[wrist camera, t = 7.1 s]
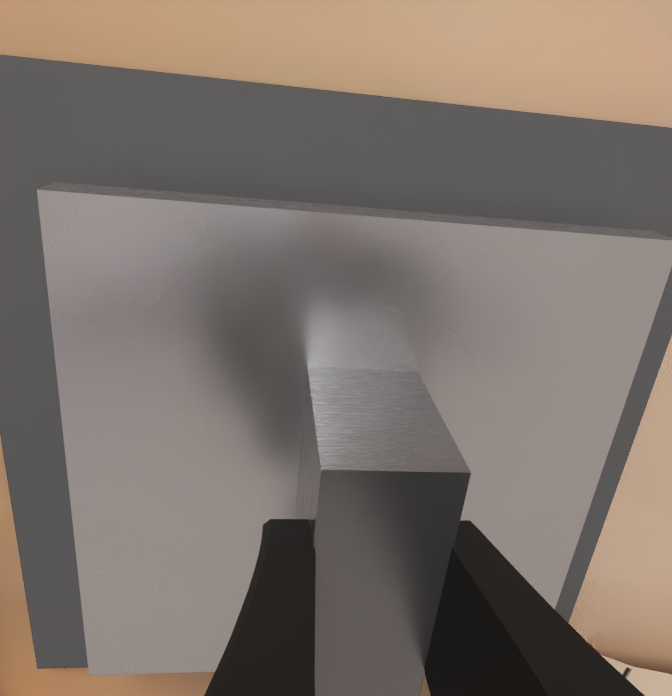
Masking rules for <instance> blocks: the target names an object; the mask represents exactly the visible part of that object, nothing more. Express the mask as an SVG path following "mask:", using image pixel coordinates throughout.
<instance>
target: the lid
mask: <svg viewBox="0 0 672 696" xmlns="http://www.w3.org/2000/svg"><path fill="white" fill-rule="evenodd" d="M37 196H38V205H39V215H40V224H41V233H42V243H43V252H44V261H45V271H46V280H47V289H48V298H49V308H50V317H51V326H52V336H53V345H54V354H55V364H56V373H57V382H58V392H59V401H60V410H61V420H62V429H63V438H64V448H65V457H66V466H67V476H68V485H69V494H70V503H71V513H72V522H73V531H74V541H75V550H76V559H77V569H78V578H79V587H80V597H81V606H82V615H83V625H84V634H85V643H86V653H87V662H88V671H89V675H120V674H156V673H191V672H215V671H216V669H217V667H218V664H219V662H220V660H221V658H222V655H223V653H224V651H225V649H226V647H227V644H228V642H229V639H230V637H231V634H232V632H233V629H234V627H235V624H236V621H237V619H238V616H239V613H240V611H241V608H242V605H243V603H244V600H245V597H246V594H247V592H248V589H249V586H250V582H251V579H252V576H253V573H254V569H255V566H256V562H257V558H258V554H259V550H260V544H261V539H262V528H263V524H264V523H266V522H267V521H268V520H270V519H308V522H309V527H310V532H311V538H312V544H313V548H315V553H316V581H315V696H420V691H421V687H422V683H423V678H424V674H425V670H424V667H425V663H426V659H427V654H428V650H429V646H430V641H431V637H432V633H433V628H434V624H435V620H436V615H437V611H438V607H439V602H440V598H441V594H442V589H443V585H444V581H445V576H446V572H447V567H448V563H449V559H450V554H451V550H452V548H454V545H455V540H456V536H457V532H458V527H459V523H460V520H470V521H471V522H472V523H473V524H474V525H475V526H476V527H477V528H478V529H479V530H480V531H481V532H482V533H483V534H484V535H485V536H486V538H487V539H488V540H489V541H490V542H491V543H492V544H493V545H494V546H495V547H496V548H497V549H498V550H499V551H500V553H501V554H502V555H503V556H504V557H505V558H506V559H507V560H508V561H509V562H510V563H511V564H512V565H513V566H514V568H515V569H516V570H517V571H518V572H519V573H520V574H521V575H522V576H523V577H524V578H525V579H526V580H527V581H528V582H529V583H530V585H531V586H532V587H533V588H534V589H535V590H536V591H537V592H538V593H539V594H540V595H541V596H542V597H543V598H544V599H545V600H546V601H547V602H548V603H549V604H550V605H551V606H552V607H553V608H554V609H555V607H556V605H557V602H558V599H559V596H560V593H561V590H562V587H563V584H564V581H565V578H566V575H567V572H568V569H569V566H570V563H571V561H572V558H573V555H574V552H575V549H576V546H577V543H578V540H579V537H580V534H581V531H582V528H583V525H584V522H585V520H586V517H587V514H588V511H589V508H590V505H591V502H592V499H593V496H594V493H595V490H596V487H597V484H598V481H599V478H600V476H601V473H602V470H603V467H604V464H605V461H606V458H607V455H608V452H609V449H610V446H611V443H612V440H613V437H614V434H615V432H616V429H617V426H618V423H619V420H620V417H621V414H622V411H623V408H624V405H625V402H626V399H627V396H628V393H629V391H630V388H631V385H632V382H633V379H634V376H635V373H636V370H637V367H638V364H639V361H640V358H641V355H642V352H643V349H644V347H645V344H646V341H647V338H648V335H649V332H650V329H651V326H652V323H653V320H654V317H655V314H656V311H657V308H658V306H659V303H660V300H661V297H662V294H663V291H664V288H665V285H666V282H667V279H668V276H669V273H670V270H671V267H672V238H670V237H667V236H665V235H662V234H659V233H656V232H654V231H647V230H635V229H622V228H610V227H598V226H586V225H574V224H562V223H549V222H537V221H525V220H513V219H501V218H488V217H476V216H464V215H452V214H440V213H427V212H415V211H403V210H391V209H379V208H367V207H354V206H342V205H330V204H318V203H306V202H293V201H281V200H269V199H257V198H245V197H233V196H220V195H208V194H196V193H184V192H172V191H159V190H147V189H135V188H123V187H111V186H98V185H86V184H74V183H62V182H54V183H52V184H49V185H47V186H45V187H42V188H40V189H37Z"/></svg>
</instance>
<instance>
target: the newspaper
mask: <svg viewBox="0 0 672 696" xmlns="http://www.w3.org/2000/svg"><path fill="white" fill-rule="evenodd" d="M585 640H586V641H587V639H586V638H585ZM587 642H588V641H587ZM588 643H589V642H588ZM591 646H592V645H591ZM592 647H593V646H592ZM601 656H602V657H604V658H605V659H606V660H607V661H608V662H609V663H610V664H611V665H612V666H613V667H614V668H615V669H617V670H618V671H619V672H620V673H621V674H622V675H623V676H624V677H625V678H626V679H627V680H628V681H630V682H631V683H632V684H633V685H634V686H635V687H636V688H637V689H638V690H639V691H640V692H641V693H643V694H644V695H645V696H672V674H668V673H663V672H658V671H653V670H648V669H643V668H638V667H633V666H630V665H628V664H625V663H622V662H619V661H617V660H614V659H611V658H608V657H606V656H603V655H601Z"/></svg>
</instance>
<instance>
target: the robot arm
mask: <svg viewBox="0 0 672 696" xmlns="http://www.w3.org/2000/svg"><path fill="white" fill-rule="evenodd" d="M315 581H316V553H315V548H313V544H312V538H311V532H310V527H309V522H308V519H270V520H268V521H267V522H266V523H264V524H263V528H262V539H261V544H260V550H259V554H258V558H257V562H256V566H255V569H254V573H253V576H252V579H251V582H250V586H249V589H248V592H247V594H246V597H245V600H244V603H243V605H242V608H241V611H240V613H239V616H238V619H237V621H236V624H235V627H234V629H233V632H232V634H231V637H230V639H229V642H228V644H227V647H226V649H225V651H224V653H223V655H222V658H221V660H220V662H219V664H218V667H217V669H216V671H215V673H214V676H213V678H212V680H211V682H210V684H209V687H208V689H207V691H206V693H205V696H315ZM424 670H425V675H426V680H427V683H428V687H429V690H430V694H431V696H645V695H644V694H643V693H641V692H640V691H639V690H638V689H637V688H636V687H635V686H634V685H633V684H632V683H631V682H630V681H628V680H627V679H626V678H625V677H624V676H623V675H622V674H621V673H620V672H619V671H618V670H617V669H615V668H614V667H613V666H612V665H611V664H610V663H609V662H608V661H607V660H606V659H605V658H604V657H602V656H601V655H600V654H599V653H598V652H597V651H596V650H595V649H594V648H593V647H592V646H591V645H590V644H589V643H588V642H587V641H586V640H585V639H584V638H583V637H582V636H581V635H580V634H579V633H578V632H577V631H576V630H575V629H574V628H573V627H572V626H571V625H570V624H569V623H568V622H567V621H566V620H565V619H564V618H563V617H562V616H561V615H560V614H559V613H558V612H557V611H556V610H555V609H554V608H553V607H552V606H551V605H550V604H549V603H548V602H547V601H546V600H545V599H544V598H543V597H542V596H541V595H540V594H539V593H538V592H537V591H536V590H535V589H534V588H533V587H532V586H531V585H530V583H529V582H528V581H527V580H526V579H525V578H524V577H523V576H522V575H521V574H520V573H519V572H518V571H517V570H516V569H515V568H514V566H513V565H512V564H511V563H510V562H509V561H508V560H507V559H506V558H505V557H504V556H503V555H502V554H501V553H500V551H499V550H498V549H497V548H496V547H495V546H494V545H493V544H492V543H491V542H490V541H489V540H488V539H487V538H486V536H485V535H484V534H483V533H482V532H481V531H480V530H479V529H478V528H477V527H476V526H475V525H474V524H473V523H472V522H471V521H470V520H460V523H459V527H458V532H457V536H456V540H455V545H454V548H452V550H451V554H450V559H449V563H448V567H447V572H446V576H445V581H444V585H443V589H442V594H441V598H440V602H439V607H438V611H437V615H436V620H435V624H434V628H433V633H432V637H431V641H430V646H429V650H428V654H427V659H426V663H425V667H424Z"/></svg>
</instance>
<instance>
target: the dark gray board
mask: <svg viewBox="0 0 672 696" xmlns="http://www.w3.org/2000/svg"><path fill="white" fill-rule="evenodd" d="M54 182H62V183H74V184H86V185H98V186H111V187H123V188H135V189H147V190H159V191H172V192H184V193H196V194H208V195H220V196H233V197H245V198H257V199H269V200H281V201H293V202H306V203H318V204H330V205H342V206H354V207H367V208H379V209H391V210H403V211H415V212H427V213H440V214H452V215H464V216H476V217H488V218H501V219H513V220H525V221H537V222H549V223H562V224H574V225H586V226H598V227H610V228H622V229H635V230H647V231H654V232H656V233H659V234H662V235H665V236H667V237H670V238H672V128H667V127H658V126H648V125H639V124H630V123H621V122H612V121H603V120H594V119H584V118H575V117H566V116H557V115H548V114H539V113H529V112H520V111H511V110H502V109H493V108H484V107H474V106H465V105H456V104H447V103H438V102H429V101H420V100H410V99H401V98H392V97H383V96H374V95H365V94H355V93H346V92H337V91H328V90H319V89H310V88H300V87H291V86H282V85H273V84H264V83H255V82H246V81H236V80H227V79H218V78H209V77H200V76H191V75H181V74H172V73H163V72H154V71H145V70H136V69H126V68H117V67H108V66H99V65H90V64H81V63H72V62H62V61H53V60H44V59H35V58H26V57H17V56H7V55H0V435H1V442H2V448H3V454H4V461H5V467H6V473H7V480H8V486H9V492H10V499H11V505H12V511H13V518H14V524H15V530H16V536H17V543H18V549H19V555H20V562H21V568H22V574H23V581H24V587H25V593H26V600H27V606H28V612H29V619H30V625H31V631H32V638H33V644H34V650H35V657H36V663H37V669H44V668H82V667H88V662H87V653H86V643H85V634H84V625H83V615H82V606H81V597H80V587H79V578H78V569H77V559H76V550H75V541H74V531H73V522H72V513H71V503H70V494H69V485H68V476H67V466H66V457H65V448H64V438H63V429H62V420H61V410H60V401H59V392H58V382H57V373H56V364H55V354H54V345H53V336H52V326H51V317H50V308H49V298H48V289H47V280H46V271H45V261H44V252H43V243H42V233H41V224H40V215H39V205H38V196H37V189H40V188H42V187H45V186H47V185H49V184H52V183H54ZM671 335H672V267H671V270H670V273H669V276H668V279H667V282H666V285H665V288H664V291H663V294H662V297H661V300H660V303H659V306H658V308H657V311H656V314H655V317H654V320H653V323H652V326H651V329H650V332H649V335H648V338H647V341H646V344H645V347H644V349H643V352H642V355H641V358H640V361H639V364H638V367H637V370H636V373H635V376H634V379H633V382H632V385H631V388H630V391H629V393H628V396H627V399H626V402H625V405H624V408H623V411H622V414H621V417H620V420H619V423H618V426H617V429H616V432H615V434H614V437H613V440H612V443H611V446H610V449H609V452H608V455H607V458H606V461H605V464H604V467H603V470H602V473H601V476H600V478H599V481H598V484H597V487H596V490H595V493H594V496H593V499H592V502H591V505H590V508H589V511H588V514H587V517H586V520H585V522H584V525H583V528H582V531H581V534H580V537H579V540H578V543H577V546H576V549H575V552H574V555H573V558H572V561H571V563H570V566H569V569H568V572H567V575H566V578H565V581H564V584H563V587H562V590H561V593H560V596H559V599H558V602H557V605H556V607H555V610H556V611H557V612H558V613H559V614H560V615H561V616H562V617H563V618H564V619H565V620H566V621H567V622H569V619H570V617H571V614H572V611H573V608H574V605H575V603H576V600H577V597H578V594H579V591H580V589H581V586H582V583H583V580H584V578H585V575H586V572H587V569H588V566H589V564H590V561H591V558H592V555H593V552H594V550H595V547H596V544H597V541H598V538H599V536H600V533H601V530H602V527H603V525H604V522H605V519H606V516H607V513H608V511H609V508H610V505H611V502H612V499H613V497H614V494H615V491H616V488H617V485H618V483H619V480H620V477H621V474H622V472H623V469H624V466H625V463H626V460H627V458H628V455H629V452H630V449H631V446H632V444H633V441H634V438H635V435H636V432H637V430H638V427H639V424H640V421H641V419H642V416H643V413H644V410H645V407H646V405H647V402H648V399H649V396H650V393H651V391H652V388H653V385H654V382H655V380H656V377H657V374H658V371H659V368H660V366H661V363H662V360H663V357H664V354H665V352H666V349H667V346H668V343H669V340H670V338H671Z"/></svg>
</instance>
